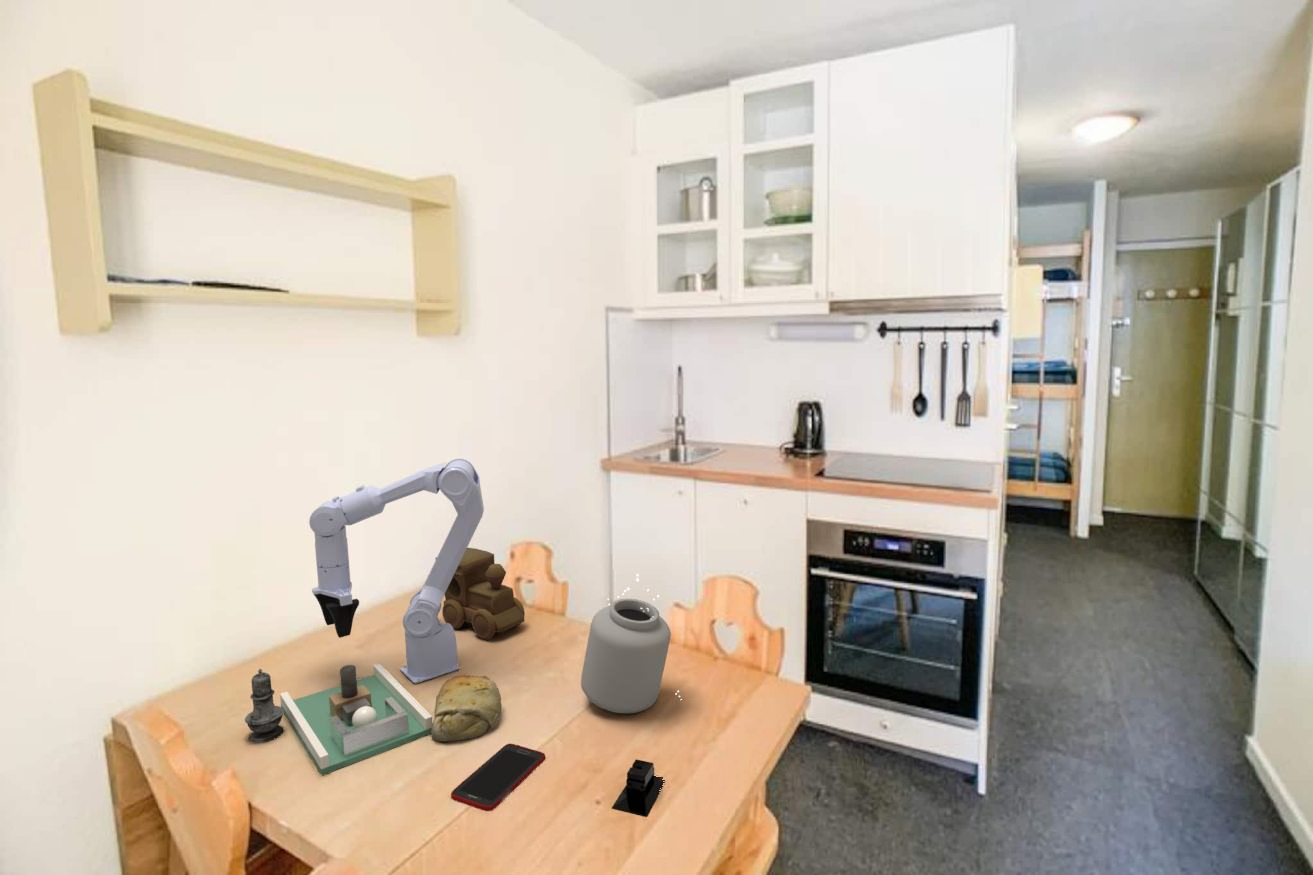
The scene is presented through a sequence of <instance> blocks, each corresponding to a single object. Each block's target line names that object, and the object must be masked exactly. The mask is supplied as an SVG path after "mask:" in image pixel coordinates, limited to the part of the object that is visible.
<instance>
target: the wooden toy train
mask: <svg viewBox="0 0 1313 875" xmlns="http://www.w3.org/2000/svg"><path fill="white" fill-rule="evenodd" d="M436 558H437V557H436V556H435V558H434V559H435V560H436ZM506 574H507V571H506V570H505V568H504V567H503V566H502V564H500V563H495V553H492V552H489V551H488V550H483V549H479V548H474V547H467V549H466V551H465V553H464V555H463V557H462V559H461V561H460V563H459V565H458V567H457V569H456V571H455V573H454V576H453V578H452V580H451V582H450V584H449V586H448V588H447V590H446V592H445V594H444V598H445V600H443V607H442V618H443V620H444V623H449V624H451V626H452V627H453V629H454V630H457V629H461V628H462V626H464V624H465V622H466V623H470V624H471V626H472V628H473V631H474V632H475V634H476V635H477V637H478V638H480V639H482V640H490V639H492V637H494V636H495V633H496V632H497V633H502V632H504V631H507V630H508V629H511V628H513V627H518V626H520V625H522V623H524V622H525V608H524V606H523V603H522V602H521V601H520V600H519V599H518V598H516V597H514V588H513V587H509V586H507V585H504V584H503V581H504V579H505V577H506Z"/></svg>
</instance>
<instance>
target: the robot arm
mask: <svg viewBox="0 0 1313 875" xmlns="http://www.w3.org/2000/svg"><path fill="white" fill-rule="evenodd" d="M445 464H446V465H445ZM480 482H481V479H480V476H479V474H478V472H477V470H476V468H475V467H474V464H472V463H471V462H470V461H468V460H467V459H464V458H455V459H451V460H450V461H449V462H448V463H446V461H445V462H443V463H442V462H441V463H437V464H435V465H432V466H430V467H427V468H426V467H425V468H424V469H422V470H420V471H417V472H415V473H413V474H410V475H408V476H406V477H404V478H401V479H399V480H396V481H395V482H393V483H389V484H388V485H385V486H384V487H381V488H379V487H377V486H376V487H375V486H373V485H368V486H364V484H363V485H360V486H357V488H355V491H353V492H351V493H348V494H345V495H343V496H341V497H340V496H338V495H337V496H335V497H333V498H332V499H331V500H329V501H325V502H323V503H322V504H321V505H319V506H318V507H317V508H316V509H314V511H313V512H311V514H310V516H309V522H308V523H309V528H310V529H311V530H312V532H313V533H314V550H315V561H316V572H317V587H313V588H311V592H312V594H313V596H314V597H315V598H316V600H317V602H318V604H319V606H320V609H321V612H322V615H323V618H324V621H325V624H326V625H327V626H331V625H332V626H333V625H334V628H335V631H336V635H337V637H338V638H339V639H340V638H344V637H347V636H351V632H352V628H353V627H352V626H353V623H354V622H353V620H354V617H355V614H356V611H357V609H358V608H359V605H360V600H359V599H358V598H353V594H352V589H353V588H352V587H353V584H352V581H351V572H350V571H351V570H350V560H349V558H350V557H349V546H348V537H347V527H346V526H352V525H355V524H358V523H360V522H362V521H364V520H365V521H366V520H367V519H370V518H373V517H375V516H377V515H379V514H381V513H383V511H384V509H385V506H386V504H390V503H392V502H395V501H397V500H400V499H403V498H406V497H408V496H412V495H414V494H417V493H419V492H422V491H425V492H428V493H432V494H434V495H435V494H436V495H437V494H438V493H439V491H440V492H441V494H443V495H444V496H445V497H446V498H447V499H448V500H449V501H450V502H451V503H452V505H453V507H454V509H455V511H456V513H457V515H456V518H455V519H454V521H453V524H452V526H451V527H450V530H449V532H448V534H447V536H446V538H445V540H444V542H443V544H442V547H441V549H440V550H439V552H438V554H437V558H436V557H435V558H436V559H435V560H434V563H433V565H432V567H431V568H430V571H429V574H428V575H427V577H426V579H425V581H424V583H423V585H422V587H421V588H420V590H419V591H418V592H416V593H415V594H413V595H412V597H411V598H410V600H409V605H408V608H407V610H406V612H405V613H404V615H403V617H402V626H403V629H404V638H405V639H404V640H405V653H406V655H405V656H406V665H403V666H402V667H400V668H399V670H400V671H401V673H403V675H404V676H406V677H407V678H408V679H409V680H410V681H411V682H412V684H420V683H421V682H425V681H428V680H431V679H434V678H437V677H440V676H443V675H445V674H446V675H447V674H449V673H451V672H455V671H457V670H459V669H460V666H459V665H458V664H459V663H458V649H457V648H458V647H457V643H458V642H457V637H456V632H455V629H454V628H453V627H452V626H451V624H449V623H446V622H441V620H440V618H439V617H438V616H439V613H440V612H441V609H442V601H443V599H444V598H445V595H444V594H445V592H446V590H447V588H448V586H449V584H450V582H451V580H452V578H453V576H454V573H455V571H456V569H457V567H458V565H459V563H460V561H461V559H462V557H463V555H464V553H465V551H466V549H467V548H469V544H470V542H471V540H472V538H473V536H474V534H475V532H476V530H477V529H478V526H479V524H480V522H481V520H482V517H483V516H484V515H483V514H484V510H485V509H484V508H485V507H484V501H483V500H484V499H483V496H482V488H481V483H480Z"/></svg>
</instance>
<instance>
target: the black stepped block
mask: <svg viewBox="0 0 1313 875" xmlns="http://www.w3.org/2000/svg"><path fill="white" fill-rule="evenodd" d="M631 766H632V767H630V768H629V769H628V771H627V772H626V782H625V783H626V784H625V786H624V788H623V789H622V791H621V792H620V794H619V795H618V797H617V799H616V800H615V802H614V803H613V805H612V806H611V809H612V810H615V811H620V812H623V813H628V814H632V815H636V816H640V817H644V818H647V817H648V816H649V814H650V812H651V811H652V809H653V807H654V805H655V803H656V801H658V800H657V799H658V798H659V796H660V793H661V792H662V790H663V788H664V786H662V785H663V783H665V782H663V781H665V780H662V779H663V777H664V776H661V777H656V776H657V775H656V776H654V775H655V767H654V762H650V761H645V760H640V759H635V760H634V762H633V763H632V765H631ZM665 784H666V783H665ZM662 787H663V788H662ZM660 788H661V789H662V790H661V789H660ZM659 790H661V791H659ZM659 792H660V793H659ZM658 795H659V796H658Z"/></svg>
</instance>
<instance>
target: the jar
mask: <svg viewBox="0 0 1313 875" xmlns="http://www.w3.org/2000/svg"><path fill="white" fill-rule="evenodd" d="M635 576H636V577H639V574H638V573H637V574H636V575H635ZM635 581H636V582H639V581H640V579H639V578H636V580H635ZM627 591H630V588H629V587H627V588H626V589H625V590H623V593H622V596H624V593H626V592H627ZM646 591H647V592H649V589H647V590H646ZM656 597H657V598H660V595H656ZM617 598H618V599H615V601H613V602H612V603H608V606H606V607H605V606H604V607H602V608H601V609H599V611H597V612H596V613H595V614H594V615H593V618H592V620H591V623H590V628H589V634H588V638H587V644H586V650H585V655H584V662H583V664H582V665H583V666H582V671H581V677H580V678H581V679H580V686H581V690H582V691H583V693H584V695H585V697H586V698H587V699H588V700H589V701H590V702H591V703H592V704H594V705H595V706H597V707H599V708H601V709H603V710H606V711H608V712H612V713H617V714H637V713H640V712H643V711H645V710H647V709H649V708H650V707H651V706H653V705H654V704H655V702H656V700H657V699H658V697H659V693H660V689H661V684H662V680H663V679H662V678H663V676H664V670H665V666H666V661H667V656H668V651H669V647H670V643H671V636H672V633H671V632H672V631H671V629H670V626H669V625H668V623H667V622H666V621H665V619H664V618H663V617H661V616H660V612H659V610H658V609H657V608H656V607H655V606H654V605H652V604H650V603H649V602H646V601H643V600H641V599H640V600H639V599H634V598H620V596H617ZM619 598H620V599H619ZM607 600H608V601H609V600H610V599H609V598H607ZM652 600H653V601H655V598H653V599H652ZM677 693H680V690H677V692H676V693H675V696H676V695H677ZM678 698H681V695H678ZM681 700H683V698H681V699H680V701H681Z"/></svg>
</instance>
